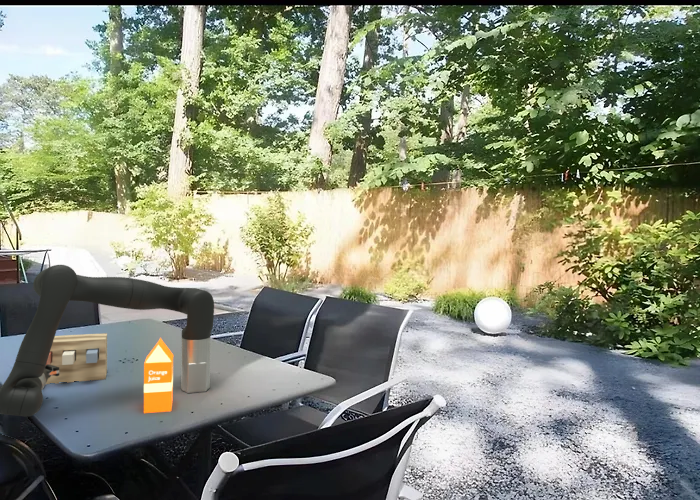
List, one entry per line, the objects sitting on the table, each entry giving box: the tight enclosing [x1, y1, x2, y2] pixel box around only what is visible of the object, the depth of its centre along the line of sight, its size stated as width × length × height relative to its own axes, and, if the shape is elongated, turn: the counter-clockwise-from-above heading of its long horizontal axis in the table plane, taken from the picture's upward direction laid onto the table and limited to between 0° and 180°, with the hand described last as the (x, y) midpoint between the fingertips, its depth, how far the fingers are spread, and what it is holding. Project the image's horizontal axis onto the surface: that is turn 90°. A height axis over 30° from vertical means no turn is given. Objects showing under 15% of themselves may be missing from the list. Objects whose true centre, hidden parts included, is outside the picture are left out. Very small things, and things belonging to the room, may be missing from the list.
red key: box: [46, 351, 52, 365], centre depth 167 cm, size 11×3×3 cm, turn 22°
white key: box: [62, 350, 76, 365], centre depth 173 cm, size 11×3×3 cm, turn 22°
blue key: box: [86, 348, 99, 363], centre depth 175 cm, size 11×3×3 cm, turn 22°
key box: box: [45, 332, 108, 385], centre depth 177 cm, size 10×22×14 cm, turn 112°
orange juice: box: [143, 337, 175, 414], centre depth 152 cm, size 8×9×20 cm
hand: (40, 365), depth 161 cm, fingers closed
